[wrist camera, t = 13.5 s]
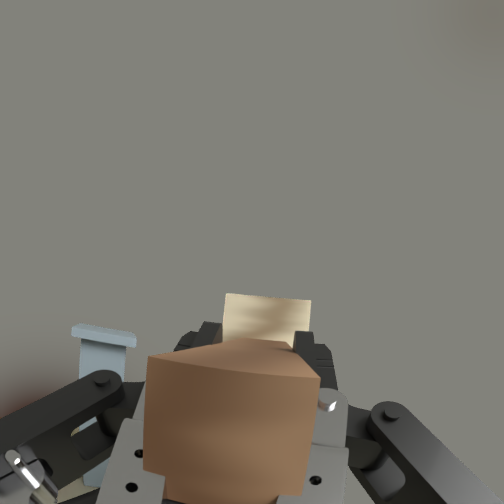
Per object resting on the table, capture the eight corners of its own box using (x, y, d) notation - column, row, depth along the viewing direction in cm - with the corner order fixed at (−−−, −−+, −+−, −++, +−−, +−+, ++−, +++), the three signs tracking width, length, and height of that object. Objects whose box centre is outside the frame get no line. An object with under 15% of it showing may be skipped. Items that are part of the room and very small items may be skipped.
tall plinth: (75, 490, 32) (72, 326, 40) (79, 462, 43) (80, 323, 51) (133, 497, 37) (136, 338, 44) (127, 468, 47) (132, 332, 55)
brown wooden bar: (81, 467, 4) (108, 196, 6) (229, 366, 25) (236, 301, 27) (370, 513, 4) (405, 216, 5) (296, 372, 25) (303, 307, 26)
